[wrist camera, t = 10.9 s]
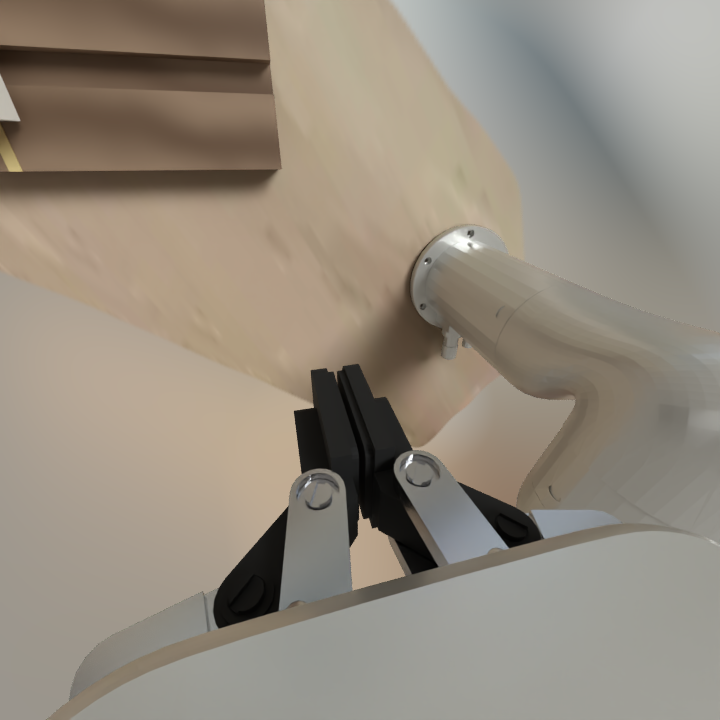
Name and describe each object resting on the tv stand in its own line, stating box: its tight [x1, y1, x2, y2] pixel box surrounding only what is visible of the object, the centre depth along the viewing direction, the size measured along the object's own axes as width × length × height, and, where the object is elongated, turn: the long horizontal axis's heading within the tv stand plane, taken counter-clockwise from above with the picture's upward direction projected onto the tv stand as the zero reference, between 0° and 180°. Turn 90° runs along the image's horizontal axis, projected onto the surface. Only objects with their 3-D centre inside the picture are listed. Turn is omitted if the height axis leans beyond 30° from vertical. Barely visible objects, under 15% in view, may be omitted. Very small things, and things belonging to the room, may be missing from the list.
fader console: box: [0, 0, 282, 172], centre depth 24 cm, size 12×24×3 cm, turn 89°
